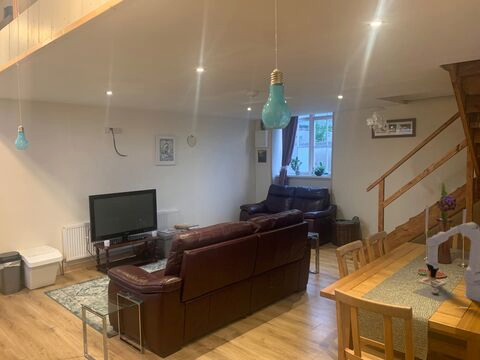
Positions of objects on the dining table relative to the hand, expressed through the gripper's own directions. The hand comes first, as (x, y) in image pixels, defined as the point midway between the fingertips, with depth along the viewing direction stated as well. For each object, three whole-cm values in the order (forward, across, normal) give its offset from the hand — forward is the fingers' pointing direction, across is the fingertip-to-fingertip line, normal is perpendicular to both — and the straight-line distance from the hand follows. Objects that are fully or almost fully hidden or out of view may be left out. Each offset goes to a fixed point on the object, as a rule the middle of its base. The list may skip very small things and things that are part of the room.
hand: (432, 276), depth 235 cm
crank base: (+5, +19, -4) cm, 20 cm away
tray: (+5, 0, 0) cm, 5 cm away
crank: (+4, +16, -3) cm, 17 cm away
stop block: (+2, 0, 0) cm, 2 cm away
